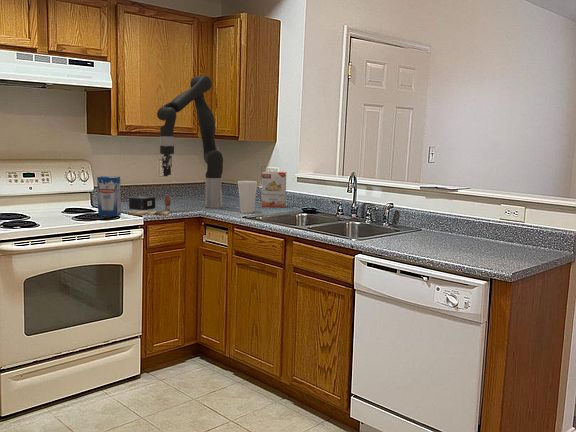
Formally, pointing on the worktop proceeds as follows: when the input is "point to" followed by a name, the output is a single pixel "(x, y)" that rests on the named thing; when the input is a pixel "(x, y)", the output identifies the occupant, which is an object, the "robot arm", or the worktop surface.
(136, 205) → the small box
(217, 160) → the robot arm
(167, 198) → the awl
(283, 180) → the cracker box
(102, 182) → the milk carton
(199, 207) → the worktop surface
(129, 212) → the panel
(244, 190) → the cup
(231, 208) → the worktop surface
